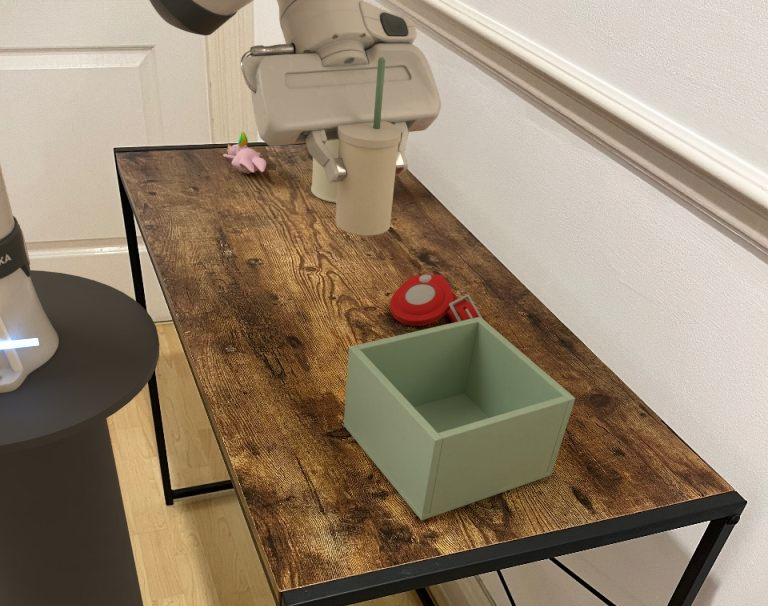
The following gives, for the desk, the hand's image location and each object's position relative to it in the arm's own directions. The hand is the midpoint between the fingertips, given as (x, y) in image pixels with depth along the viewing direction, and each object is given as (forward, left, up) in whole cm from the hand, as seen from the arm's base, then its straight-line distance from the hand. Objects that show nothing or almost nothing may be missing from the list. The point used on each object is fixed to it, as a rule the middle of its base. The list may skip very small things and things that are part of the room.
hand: (369, 175), depth 81 cm
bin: (-2, -22, -19) cm, 30 cm away
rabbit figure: (+7, +52, -20) cm, 56 cm away
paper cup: (0, +1, -5) cm, 5 cm away
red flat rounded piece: (+11, +1, -20) cm, 23 cm away
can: (+18, +40, -20) cm, 48 cm away
